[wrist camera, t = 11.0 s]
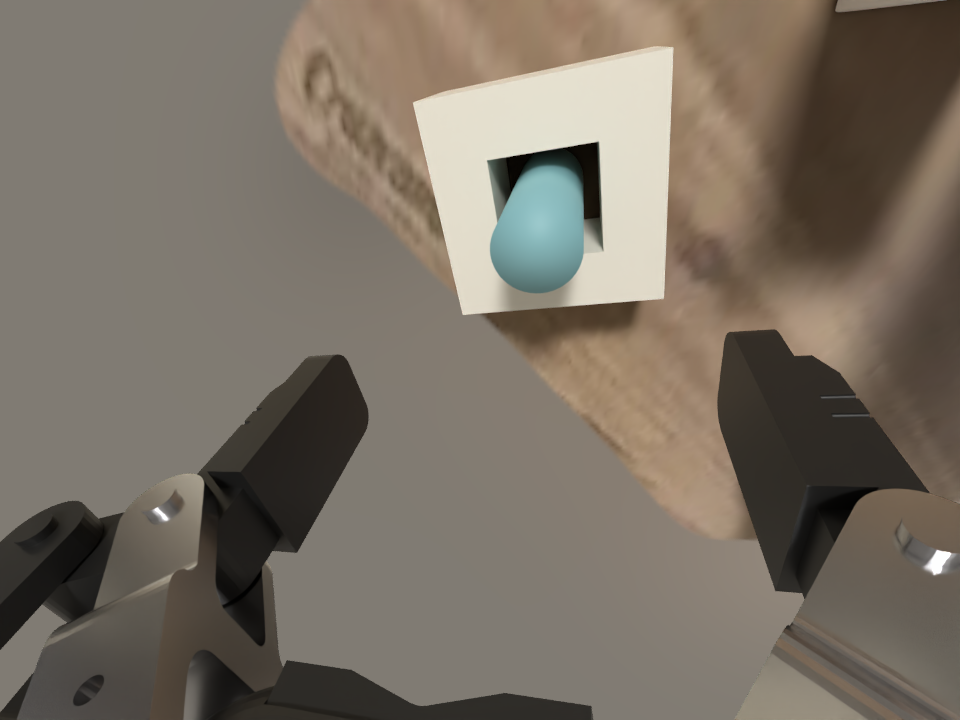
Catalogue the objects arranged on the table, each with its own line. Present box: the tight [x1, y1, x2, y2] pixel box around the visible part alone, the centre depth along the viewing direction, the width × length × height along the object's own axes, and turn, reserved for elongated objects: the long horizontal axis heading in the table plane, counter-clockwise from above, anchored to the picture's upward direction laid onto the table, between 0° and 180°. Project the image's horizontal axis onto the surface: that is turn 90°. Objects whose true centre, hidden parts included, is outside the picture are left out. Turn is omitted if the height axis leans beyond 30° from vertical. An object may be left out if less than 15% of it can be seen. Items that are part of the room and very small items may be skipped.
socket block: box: [413, 46, 673, 315], centre depth 26 cm, size 12×12×6 cm
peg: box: [490, 148, 584, 293], centre depth 24 cm, size 4×4×12 cm
